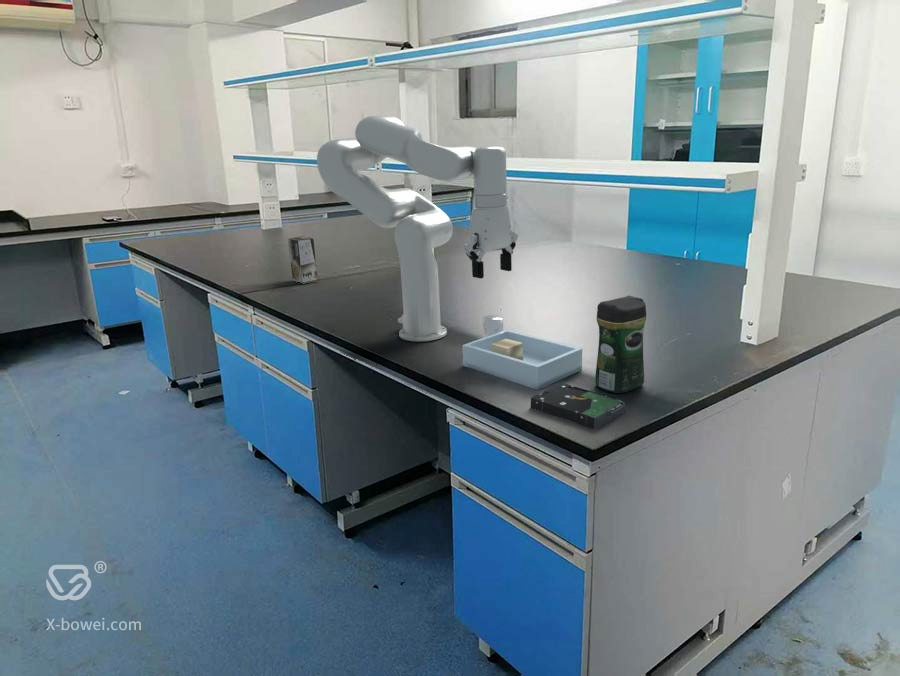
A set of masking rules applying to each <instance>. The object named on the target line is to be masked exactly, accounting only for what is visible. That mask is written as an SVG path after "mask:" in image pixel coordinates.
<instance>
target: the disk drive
mask: <svg viewBox="0 0 900 676" xmlns="http://www.w3.org/2000/svg"><path fill="white" fill-rule="evenodd" d="M532 408H533V409H532ZM530 409H532V410H535V409H536V410H535V411H537V410H539V411H538V412H540V411H541V412H540V413H544V414H547V415H550V416H554V417H556V416H557V417H556V418H559V419H562V418H563V420H565V419H567V420H566V421H568V420H569V422H571V421H572V423H574V422H575V423H574V424H577V425H580V426H582V425H583V427H585V426H586V428H589V429H592V430H597V429H599V428H600V427H603V426H604V425H606V424H608V423H609V422H610V421H612V420H615V418H618V417H619V416H620V415H622V414H624V413H626V403H625V402H624V401H622V400H621V399H618V398H616V397H613V396H610V395H605V394H602V393H598V392H596V391H595V392H594V391H592V390H588V389H586V388H585V389H584V388H581V387H578V386H574V385H571V384H568V383H564V382H560V383H559V384H556V385H554V386H553V387H551V388H550V387H549V388H547V389H545V390H544V391H543V393H541V394H536V395H533V396H531V397H530ZM605 423H606V424H605Z"/></svg>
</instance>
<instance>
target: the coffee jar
mask: <svg viewBox="0 0 900 676" xmlns="http://www.w3.org/2000/svg"><path fill="white" fill-rule="evenodd" d="M646 307H647V306H646V302H645V301H644V299H643V298H640V297H637V296H634V295H633V296H632V295H626V296H623V297H617V298H614V299H610V300H605V301H601V302H599V303H598V304H597V310H596V322H597V325H598V333H599V334H598V335H599V336H598V349H597V358H596V368H595V381H594V383H595V385H596V386H597V387H598V388H599V389H600V390H603V391H605V392H610V393H616V394H622V393H626V392H630V391H632V390H636V389H638V388H640V387H642V386H643V385H644V383H645V366H644V364H645V360H644V330H645V324H646V320H647V308H646Z"/></svg>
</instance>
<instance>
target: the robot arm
mask: <svg viewBox="0 0 900 676" xmlns="http://www.w3.org/2000/svg"><path fill="white" fill-rule="evenodd" d="M354 136H355V137H353V138H338V139H333V140H329V141H327V142H325V143H323V144H322V145H321V146H320V148H319V149H318V151H317V155H316V164H317V165H316V166H317V169H318V172H319V175H320V178H321V179H322V181H323V183H324V184H325V185H326V187H328V189H329V190H331V191H332V192H333V194H335V195H337V196H338V197H340V198H341V199H343V200H344V201H346V203H349V204H350V206H352V207H354V208H355V209H356V210H358V212H360V213H361V214H362V215H364V216H365V217H366V218H368V219H369V220H370V221H371V222H373V223H374V224H376V225H377V226H378V227H380V228H383V229H391V228H395V229H394V241H395V245H396V249H397V253H398V259H399V266H400V267H399V268H400V279H401V280H400V281H401V293H402V306H403V313H402V315H401V317H398V319H397V322H398V323H400V324H402V328H401V329H400V330H399V332H398V333H399V334H398V335H399V338H400V339H402V340H405V341H409V342H417V343H418V342H419V343H420V342H431V341H435V340H439V339H442V338H444V337H446V336H447V334H448V332H447V328H446V327H445V326H444V325H442V324H441V323H442V322H441V310H440V309H441V308H440V305H441V303H440V286H439V283H440V282H439V268H438V263H437V259H436V257H435V255H434V251H433V249H434V248H438V247H440V246H442V245H445V244H447V242H449V240H450V239H451V238H452V235H453V233H454V230H453V228H454V227H453V224H452V223H453V222H452V220H451V218H450V217H449V216H448V215H447V213H446V212H445V211H443V210H442V209H441V208H440V207H438V206H436V205H435V204H434V203H433V202H431V201H429V200H428V199H427V198H425V197H424V196H423V195H421V194H420V193H419V192H417V191H415V190H412V189H409V188H405V187H401V188H394V189H389V188H385V187H384V186H381V185H380V184H379V183H377V182H376V181H374V180H373V178H370V177H369V176H367V175H366V174H365V175H364V174H363V173H360V172H362V171H367V170H369V169H371V168H373V167H375V166H376V165H378V164H379V163H381V162H382V161H384V160H385V159H387V158H389V159H392V160H394V161H397V162H400V163H402V164H405V165H406V166H407V167H408V168H410V169H411V170H412V171H413V172H416V173H417V174H420V175H423V176H425V177H428V178H431V179H433V180H437V181H441V182H446V183H447V182H449V183H450V182H455V181H459V180H460V181H461V180H467V179H473V194H474V196H473V198H474V208H473V209H472V210H471V214H470V221H469V222H470V223H469V238H468V240H467V241H466V242H464V244H463V249H464V251H465V252H466V253H465V254H466V256H467V257H468V258H469V261H471V271H472V272H471V273H472V277H473V278H476V279H483V278H484V277H485V276H484V275H485V274H484V272H485V271H484V261H482V259H483V258H484V255H485V253H490V252H495V251H501V253H500V254H499V260H500V261H499V264H500V266H499V267H500V270H501V271H506V272H511V271H512V269H513V268H512V267H513V266H512V265H513V264H512V261H513V260H512V256H513V254H514V249H515V247H516V245H517V243H516V242H517V240H518V237H519V235H518V234H517V233H515V231H514V232H513V231H512V230H511V229H512V227H511V226H512V225H511V218H510V211H509V206H508V202H507V201H508V198H509V197H508V195H507V188H508V187H507V152H506V149H505V148H504V147H503V146H498V145H497V146H496V145H495V146H493V145H491V146H490V145H489V146H480V147H479V146H471V145H461V146H449V147H446V146H442V145H437V144H436V143H432V142H429V141H426V140H423V135H422V134H421V131H419V130H418V129H416V128H414V127H410V126H408V125H405V124H404V123H403V121H402V120H401V119H399V118H397V117H396V116H392V115H371V116H366V117H364V118H363V119H361V120H360V121H359V122H358V123H357V125H356V127H355V131H354Z"/></svg>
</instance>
